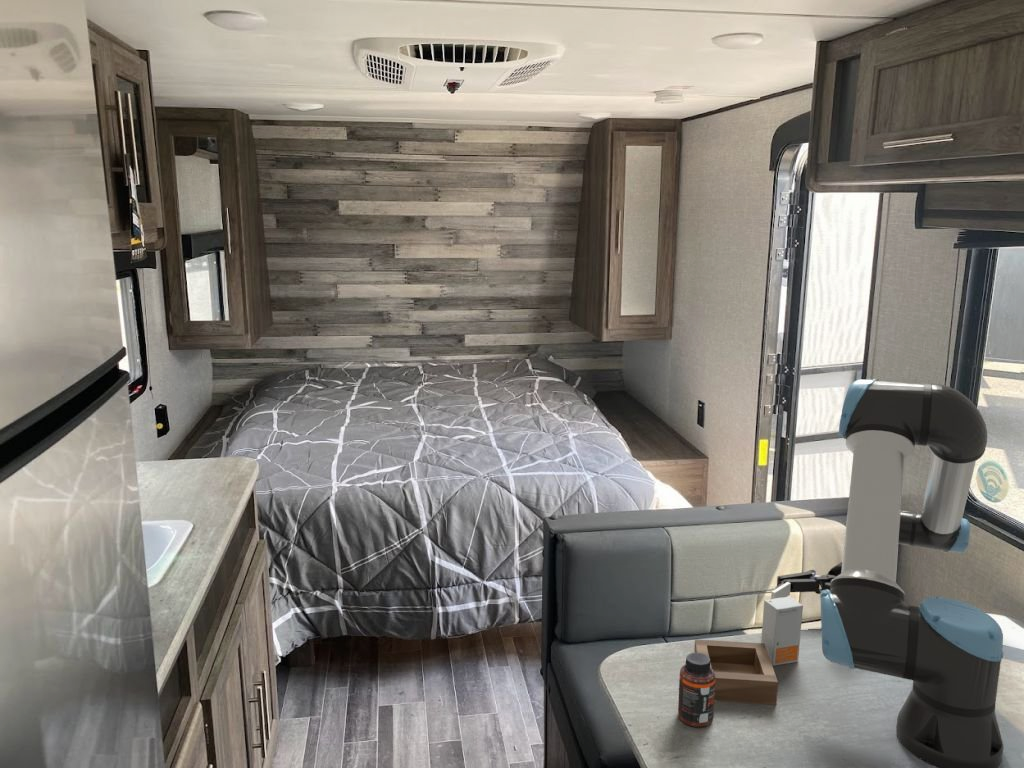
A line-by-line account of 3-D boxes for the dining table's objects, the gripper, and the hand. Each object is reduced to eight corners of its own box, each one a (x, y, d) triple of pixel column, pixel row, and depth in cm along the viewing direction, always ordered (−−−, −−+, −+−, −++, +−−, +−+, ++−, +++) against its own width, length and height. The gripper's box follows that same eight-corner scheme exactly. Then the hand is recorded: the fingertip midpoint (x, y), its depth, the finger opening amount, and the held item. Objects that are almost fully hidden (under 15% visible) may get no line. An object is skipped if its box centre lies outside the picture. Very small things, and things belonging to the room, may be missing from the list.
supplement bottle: (714, 731, 131) (717, 669, 129) (677, 726, 133) (680, 665, 130) (712, 709, 137) (715, 650, 135) (677, 705, 138) (680, 647, 136)
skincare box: (772, 667, 150) (776, 609, 148) (759, 656, 154) (763, 599, 152) (799, 662, 152) (803, 605, 149) (786, 651, 156) (790, 595, 153)
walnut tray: (776, 704, 138) (777, 681, 138) (701, 699, 140) (702, 676, 139) (762, 664, 151) (764, 643, 150) (694, 660, 153) (694, 639, 152)
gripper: (909, 613, 163) (864, 650, 149) (796, 575, 181) (747, 605, 167) (912, 580, 162) (867, 614, 148) (798, 545, 180) (749, 572, 166)
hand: (803, 609), depth 158 cm, fingers open, 13 cm apart
